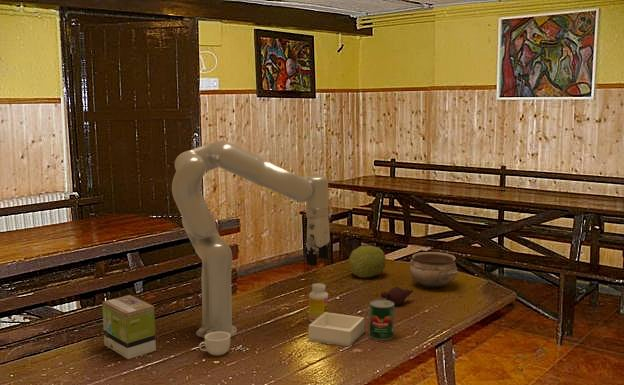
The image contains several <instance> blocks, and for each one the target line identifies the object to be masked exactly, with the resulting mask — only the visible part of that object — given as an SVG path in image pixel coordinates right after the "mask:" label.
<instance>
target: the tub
mask: <svg viewBox="0 0 624 385" xmlns="http://www.w3.org/2000/svg"><path fill="white" fill-rule="evenodd" d="M365 322H366V320H365V317H362V316H356V315H355V316H354V315H347V314H342V313H341V314H340V313H335V312H329V311H328V312H325V313H323V314H322V315H321V316H320V317H319V318H317V319H316V320H315V321H314V322H310V324H308V341H309V342H315V343H320V344H321V343H323V344H327V345H328V344H329V345H335V346H340V345H341V346H342V347H346V346H347V347H349V348H351V347H352V346H353V345H354V344H355V342H357V341H358V340H359V338H360V337H362V335H363V334H364V333H365ZM353 343H354V344H353ZM352 344H353V345H352Z"/></svg>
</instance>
